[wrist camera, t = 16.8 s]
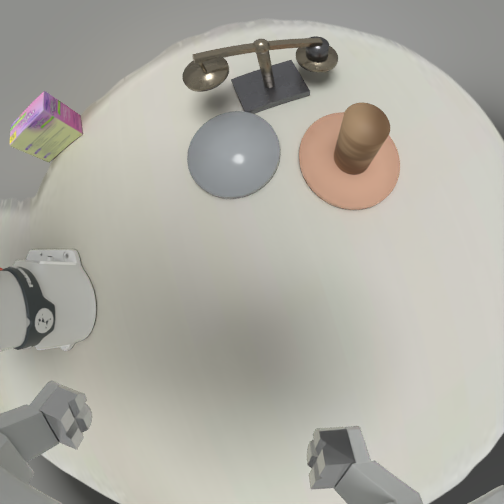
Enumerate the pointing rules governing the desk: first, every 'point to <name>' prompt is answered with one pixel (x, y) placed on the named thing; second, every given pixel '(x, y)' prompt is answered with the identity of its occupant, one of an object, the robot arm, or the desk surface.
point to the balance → (262, 71)
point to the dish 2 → (338, 182)
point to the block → (360, 137)
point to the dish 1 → (234, 155)
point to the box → (45, 128)
